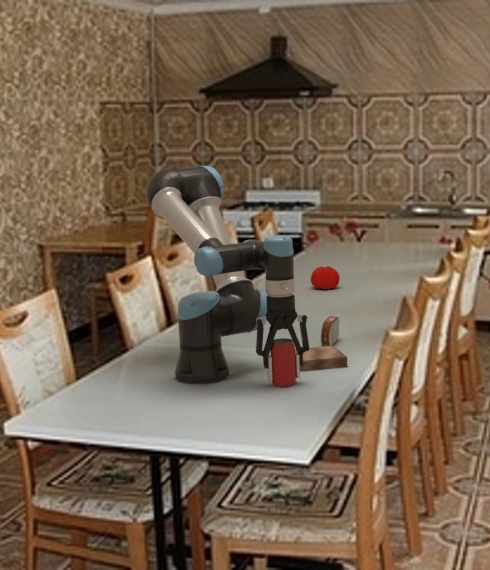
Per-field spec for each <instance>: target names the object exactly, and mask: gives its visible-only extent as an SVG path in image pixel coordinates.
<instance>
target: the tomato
mask: <svg viewBox="0 0 490 570" xmlns="http://www.w3.org/2000/svg"><path fill="white" fill-rule="evenodd" d="M340 279H341V278H340V274H339V271H338V270H337V269H335V268H333V267H332V266H328V265H327V266H317V267H316V268H315V269H314V270H313V271H312V273H311V277H310V283H311V285H312V286H313V287H314V289H317V288H318V290H323V289H328V290H332V289H331V288H333V289H334V288H336V287H337V286H338V285H339V283H340ZM320 288H321V289H320Z"/></svg>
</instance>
